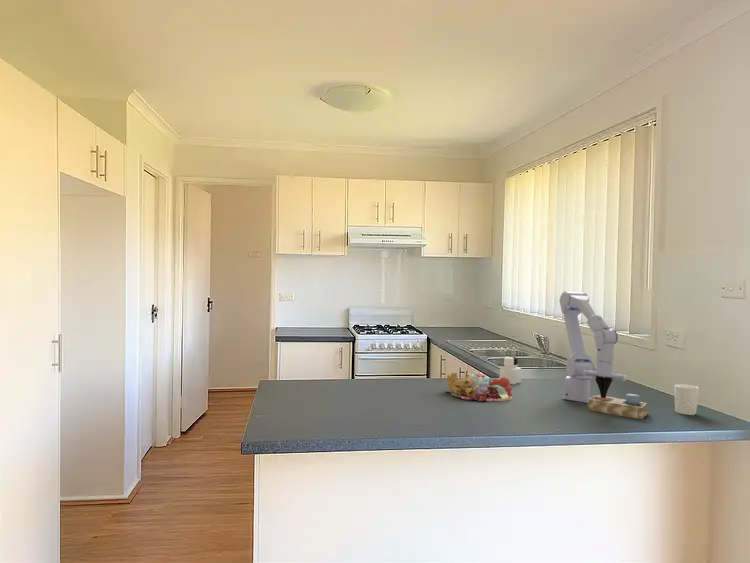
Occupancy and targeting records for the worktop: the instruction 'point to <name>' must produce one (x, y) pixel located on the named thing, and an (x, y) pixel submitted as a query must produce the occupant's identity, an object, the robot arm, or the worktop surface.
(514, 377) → the medicine bottle
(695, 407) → the white cup
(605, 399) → the pink ball
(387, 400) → the worktop surface
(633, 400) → the blue peg
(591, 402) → the peg block
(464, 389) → the assorted food platter
